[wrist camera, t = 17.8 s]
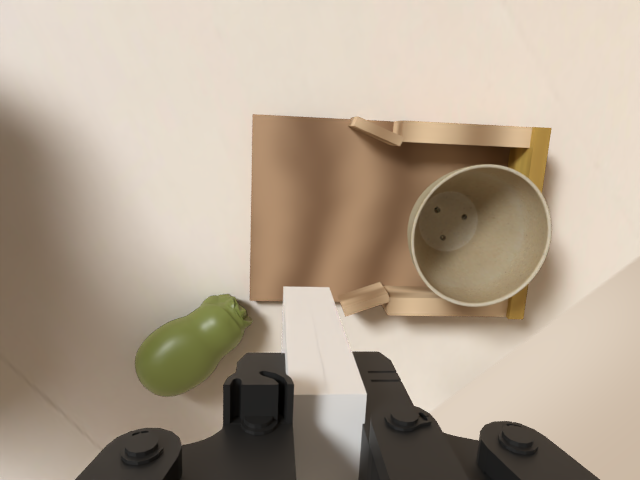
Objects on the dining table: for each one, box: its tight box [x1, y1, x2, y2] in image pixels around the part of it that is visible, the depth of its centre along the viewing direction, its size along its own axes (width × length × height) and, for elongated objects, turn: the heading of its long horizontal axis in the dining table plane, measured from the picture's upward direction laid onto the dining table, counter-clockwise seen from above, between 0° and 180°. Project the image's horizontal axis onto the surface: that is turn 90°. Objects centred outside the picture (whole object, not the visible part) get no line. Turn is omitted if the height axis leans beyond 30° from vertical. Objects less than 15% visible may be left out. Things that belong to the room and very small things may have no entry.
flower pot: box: [407, 164, 552, 307], centre depth 36 cm, size 10×10×7 cm
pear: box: [135, 294, 253, 397], centre depth 39 cm, size 6×5×10 cm
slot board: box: [250, 114, 551, 319], centre depth 38 cm, size 22×15×4 cm
